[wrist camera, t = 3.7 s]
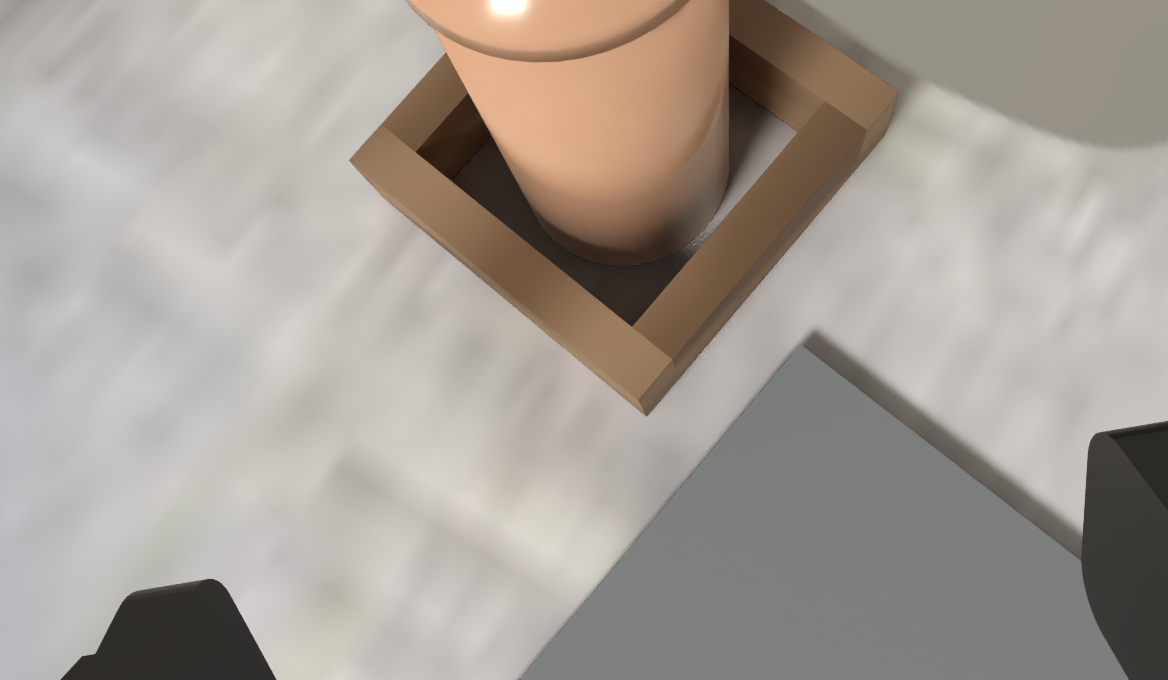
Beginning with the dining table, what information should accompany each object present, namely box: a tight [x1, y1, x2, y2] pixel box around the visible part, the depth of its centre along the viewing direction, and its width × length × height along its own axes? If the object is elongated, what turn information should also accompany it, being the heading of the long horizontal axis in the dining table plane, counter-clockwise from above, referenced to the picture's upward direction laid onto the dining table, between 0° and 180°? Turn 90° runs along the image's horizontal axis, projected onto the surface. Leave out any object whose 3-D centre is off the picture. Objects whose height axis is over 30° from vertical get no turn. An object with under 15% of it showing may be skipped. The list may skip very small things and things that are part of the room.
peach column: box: [406, 0, 729, 266], centre depth 21 cm, size 8×6×12 cm
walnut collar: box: [349, 0, 899, 417], centre depth 25 cm, size 9×9×2 cm
